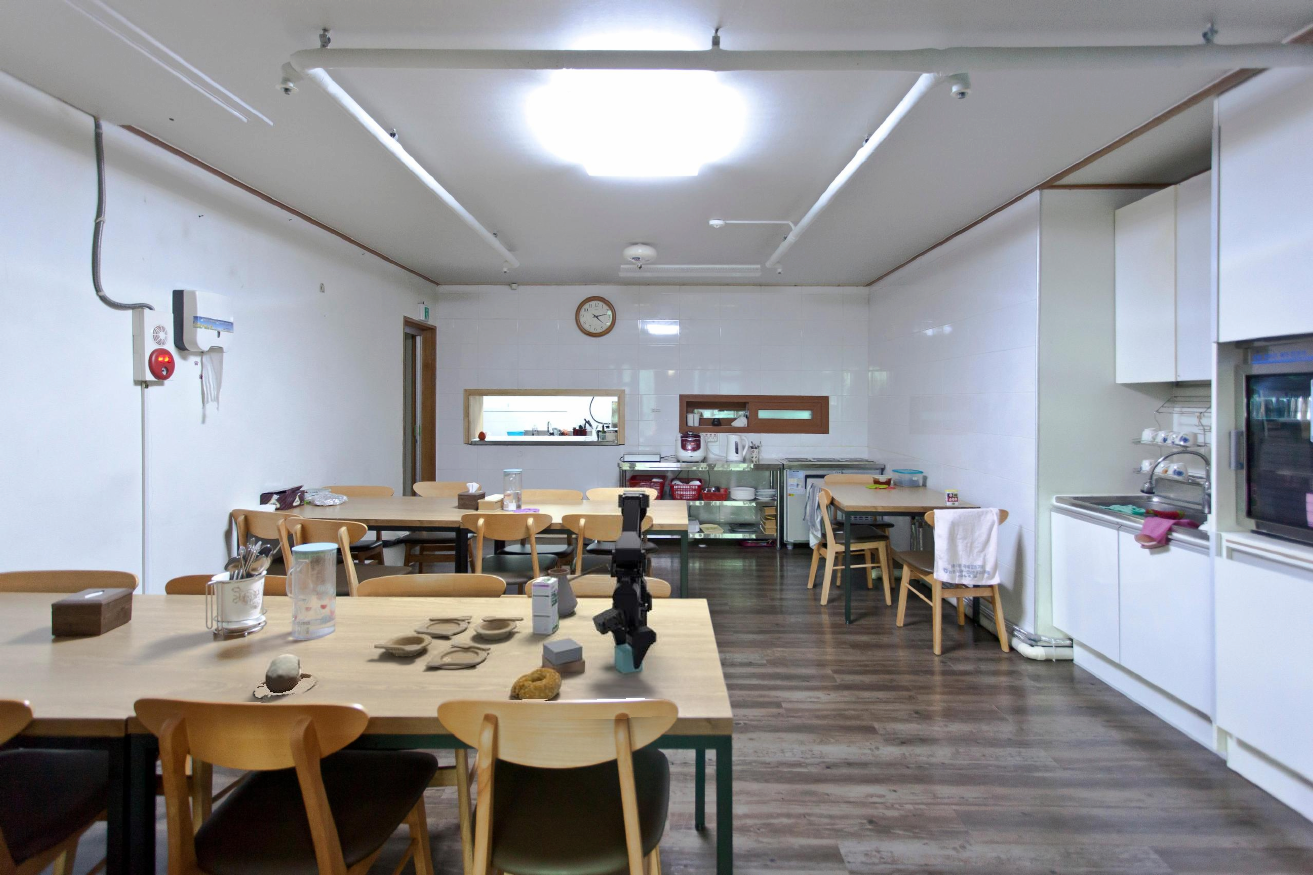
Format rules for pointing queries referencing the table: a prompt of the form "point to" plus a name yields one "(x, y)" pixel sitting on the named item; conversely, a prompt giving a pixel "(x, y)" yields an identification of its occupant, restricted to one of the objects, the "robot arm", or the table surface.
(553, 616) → the syrup box
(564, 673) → the walnut slab
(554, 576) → the coffee pot
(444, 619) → the tableware set
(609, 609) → the robot arm
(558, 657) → the grey square block
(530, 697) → the bagel
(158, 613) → the table surface
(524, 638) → the table surface
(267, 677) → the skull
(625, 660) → the teal cube
